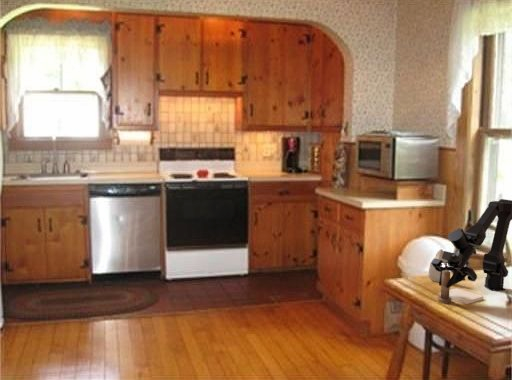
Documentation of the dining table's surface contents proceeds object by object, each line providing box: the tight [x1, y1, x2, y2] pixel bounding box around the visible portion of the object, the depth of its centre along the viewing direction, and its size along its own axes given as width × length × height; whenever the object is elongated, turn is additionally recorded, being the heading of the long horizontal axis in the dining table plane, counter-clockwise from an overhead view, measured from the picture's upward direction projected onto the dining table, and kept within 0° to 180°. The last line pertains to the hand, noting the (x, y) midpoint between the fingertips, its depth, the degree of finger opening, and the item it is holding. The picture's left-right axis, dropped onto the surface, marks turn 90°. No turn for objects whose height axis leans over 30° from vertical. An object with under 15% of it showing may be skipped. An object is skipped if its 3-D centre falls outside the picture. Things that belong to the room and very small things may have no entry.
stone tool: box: [427, 248, 448, 283], centre depth 245 cm, size 8×3×15 cm, turn 68°
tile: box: [439, 287, 484, 305], centre depth 223 cm, size 11×13×1 cm
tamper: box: [437, 270, 452, 305], centre depth 217 cm, size 5×5×12 cm
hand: (443, 286), depth 216 cm, fingers closed on tamper, 3 cm apart
